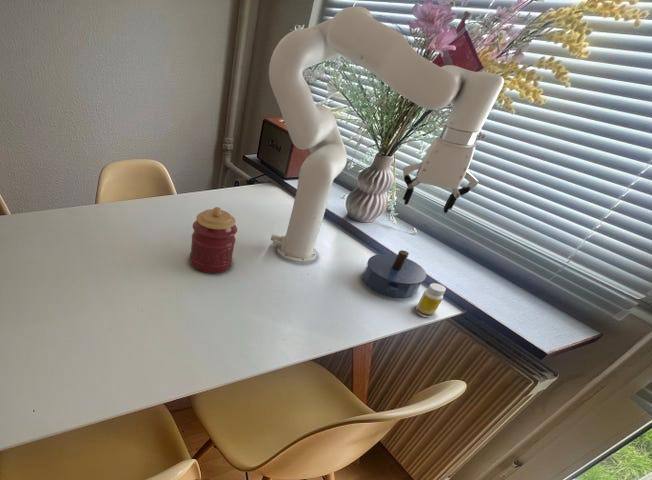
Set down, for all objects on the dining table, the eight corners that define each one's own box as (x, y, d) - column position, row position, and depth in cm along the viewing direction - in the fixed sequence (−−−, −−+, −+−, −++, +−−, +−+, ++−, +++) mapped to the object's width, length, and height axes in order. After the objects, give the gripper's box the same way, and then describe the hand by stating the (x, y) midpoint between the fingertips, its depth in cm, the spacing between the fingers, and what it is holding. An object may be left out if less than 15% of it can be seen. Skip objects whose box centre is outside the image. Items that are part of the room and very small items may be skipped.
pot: (358, 295, 123) (365, 280, 120) (365, 262, 138) (371, 247, 134) (414, 310, 120) (423, 294, 116) (415, 275, 134) (423, 260, 130)
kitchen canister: (210, 279, 125) (217, 222, 113) (180, 260, 132) (184, 204, 120) (240, 265, 132) (250, 210, 120) (210, 248, 139) (217, 194, 127)
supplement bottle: (434, 319, 117) (449, 293, 112) (416, 316, 118) (430, 290, 112) (430, 308, 121) (445, 283, 115) (413, 306, 121) (426, 280, 115)
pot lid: (364, 277, 122) (372, 258, 117) (368, 252, 133) (376, 233, 129) (424, 293, 118) (435, 273, 113) (424, 265, 129) (434, 247, 124)
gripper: (497, 138, 101) (460, 208, 112) (419, 125, 105) (391, 194, 117) (501, 147, 95) (461, 220, 107) (419, 133, 100) (389, 204, 112)
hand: (425, 206), depth 112 cm, fingers open, 9 cm apart
